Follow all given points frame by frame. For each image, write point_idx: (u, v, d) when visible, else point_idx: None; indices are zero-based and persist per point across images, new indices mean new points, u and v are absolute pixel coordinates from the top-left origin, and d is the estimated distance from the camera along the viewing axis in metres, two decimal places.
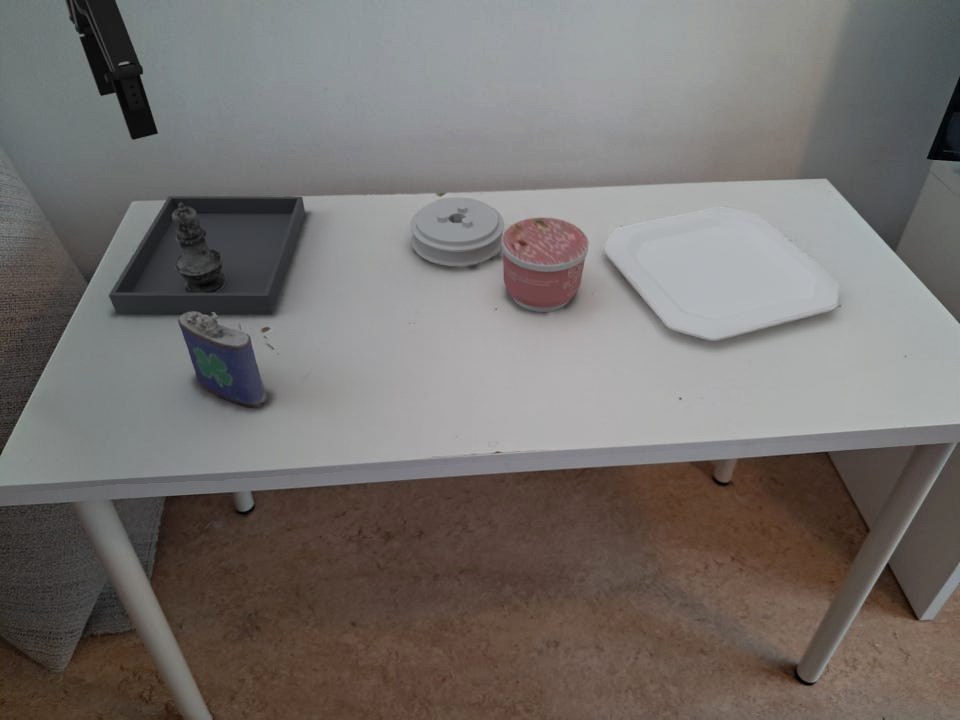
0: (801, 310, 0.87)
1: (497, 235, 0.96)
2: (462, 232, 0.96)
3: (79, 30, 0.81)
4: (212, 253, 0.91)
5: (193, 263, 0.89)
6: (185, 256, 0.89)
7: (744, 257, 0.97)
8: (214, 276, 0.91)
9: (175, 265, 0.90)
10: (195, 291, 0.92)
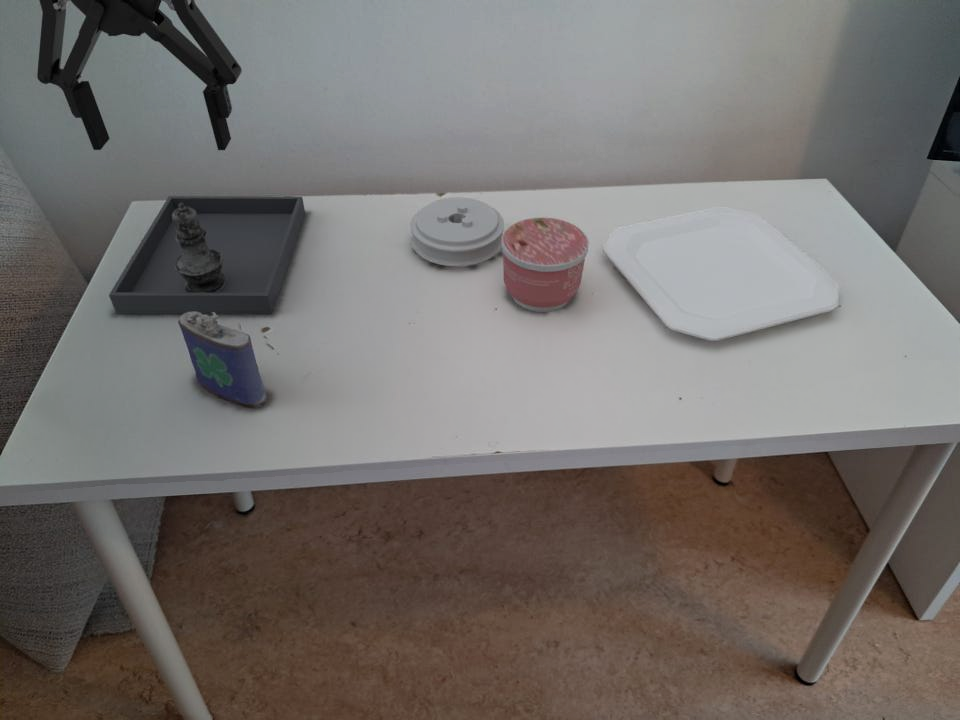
0: (801, 310, 0.87)
1: (497, 235, 0.96)
2: (462, 232, 0.96)
3: (71, 83, 0.75)
4: (212, 253, 0.91)
5: (193, 263, 0.89)
6: (185, 256, 0.89)
7: (744, 257, 0.97)
8: (214, 276, 0.91)
9: (175, 265, 0.90)
10: (195, 291, 0.92)
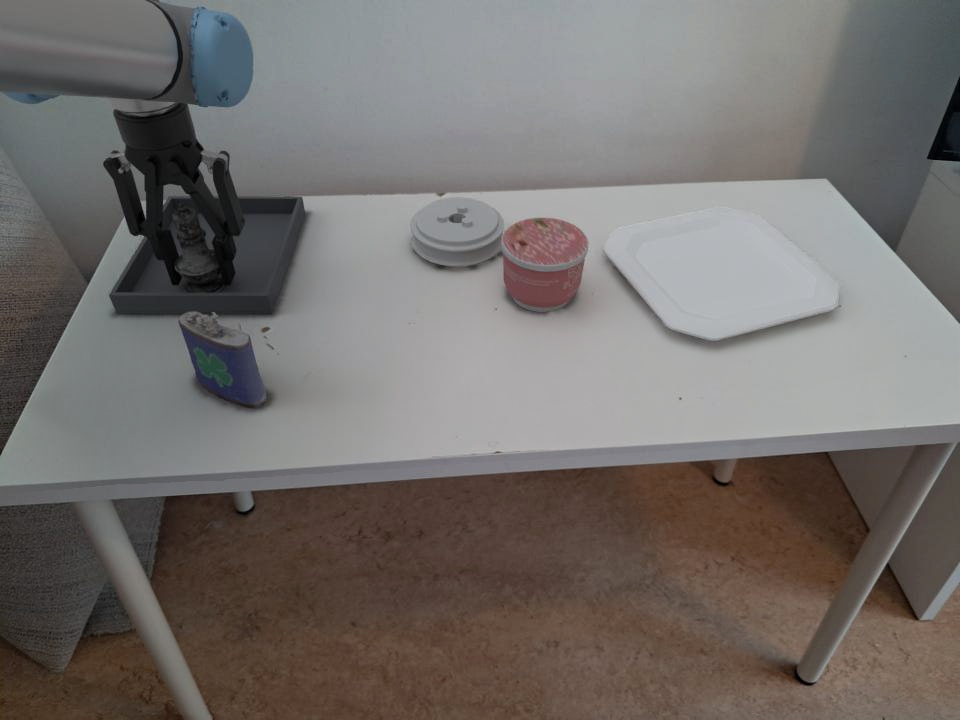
0: (801, 310, 0.87)
1: (497, 235, 0.96)
2: (462, 232, 0.96)
3: (156, 233, 0.87)
4: (212, 253, 0.91)
5: (193, 263, 0.89)
6: (185, 256, 0.89)
7: (744, 257, 0.97)
8: (214, 276, 0.91)
9: (175, 265, 0.90)
10: (195, 291, 0.92)
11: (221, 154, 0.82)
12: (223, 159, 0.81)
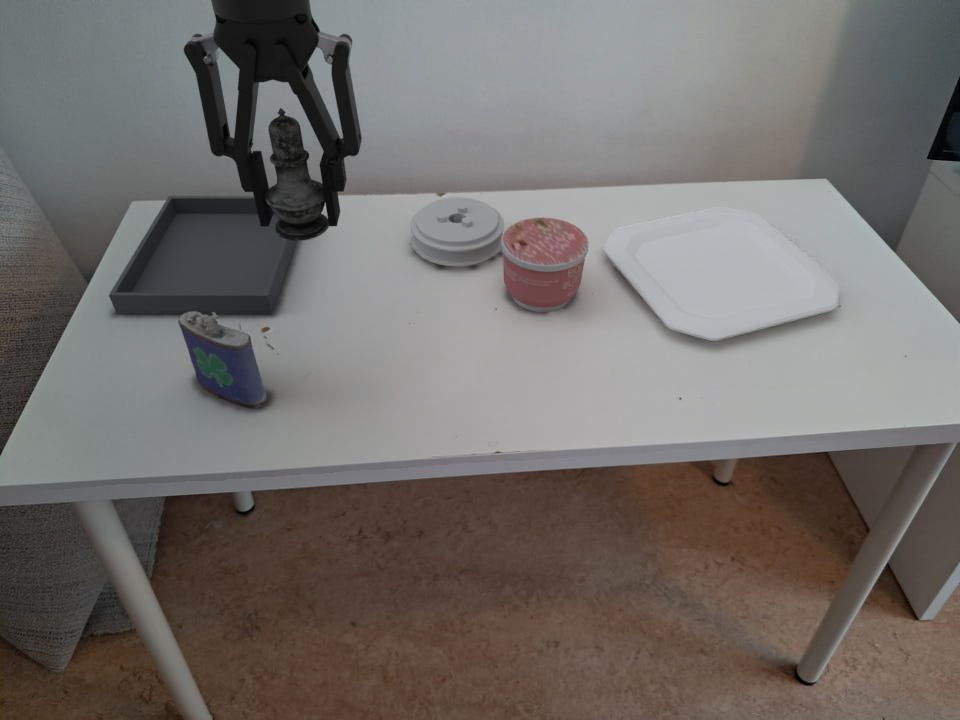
0: (801, 310, 0.87)
1: (497, 235, 0.96)
2: (462, 232, 0.96)
3: (246, 153, 0.65)
4: (314, 183, 0.70)
5: (292, 194, 0.68)
6: (281, 185, 0.68)
7: (744, 257, 0.97)
8: (317, 213, 0.70)
9: (267, 198, 0.69)
10: (291, 233, 0.70)
11: (343, 37, 0.60)
12: (347, 44, 0.60)
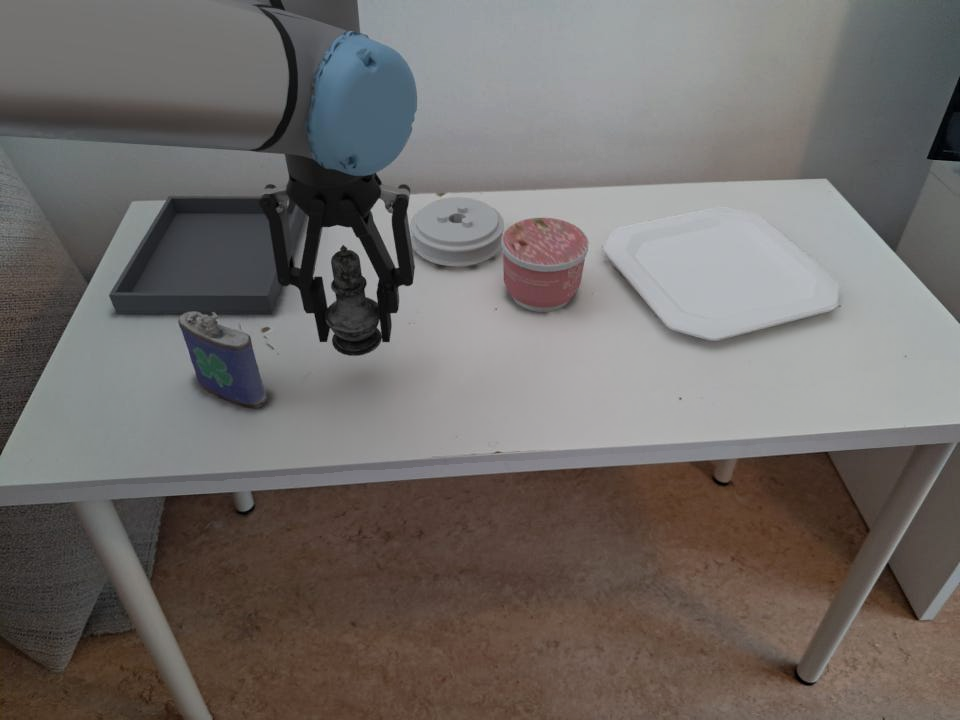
0: (801, 310, 0.87)
1: (497, 235, 0.96)
2: (462, 232, 0.96)
3: (310, 283, 0.72)
4: (369, 304, 0.76)
5: (350, 317, 0.74)
6: (341, 309, 0.74)
7: (744, 257, 0.97)
8: (372, 331, 0.76)
9: (326, 319, 0.75)
10: (348, 349, 0.76)
11: (403, 189, 0.66)
12: (407, 196, 0.66)
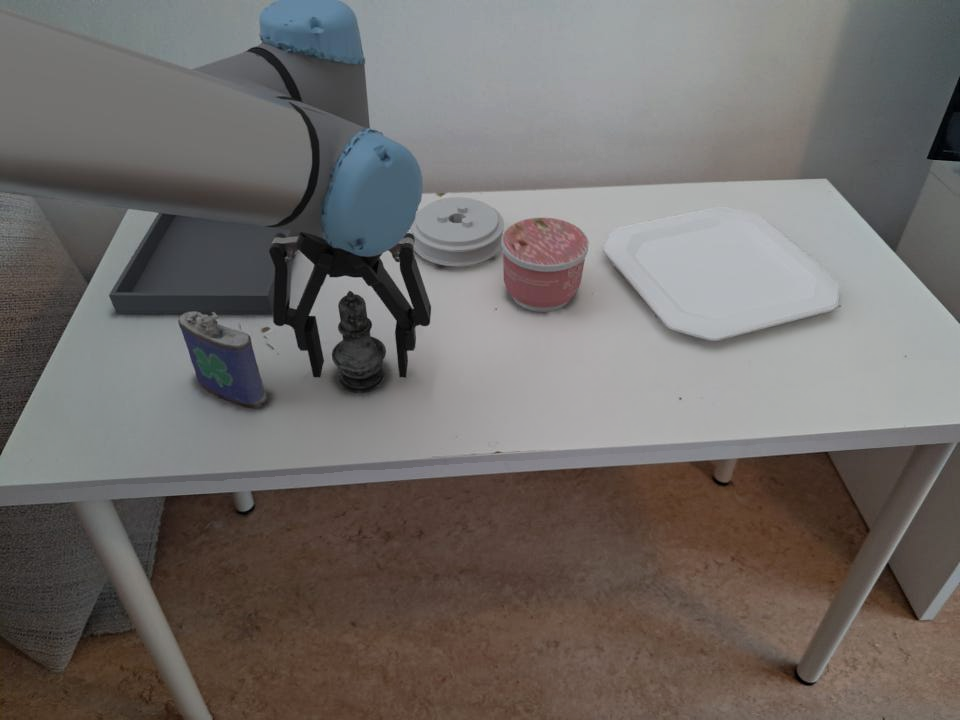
0: (801, 310, 0.87)
1: (497, 235, 0.96)
2: (462, 232, 0.96)
3: (304, 324, 0.75)
4: (374, 343, 0.79)
5: (356, 357, 0.78)
6: (347, 349, 0.77)
7: (744, 257, 0.97)
8: (377, 370, 0.79)
9: (333, 358, 0.79)
10: (353, 386, 0.80)
11: (407, 238, 0.70)
12: (411, 244, 0.69)
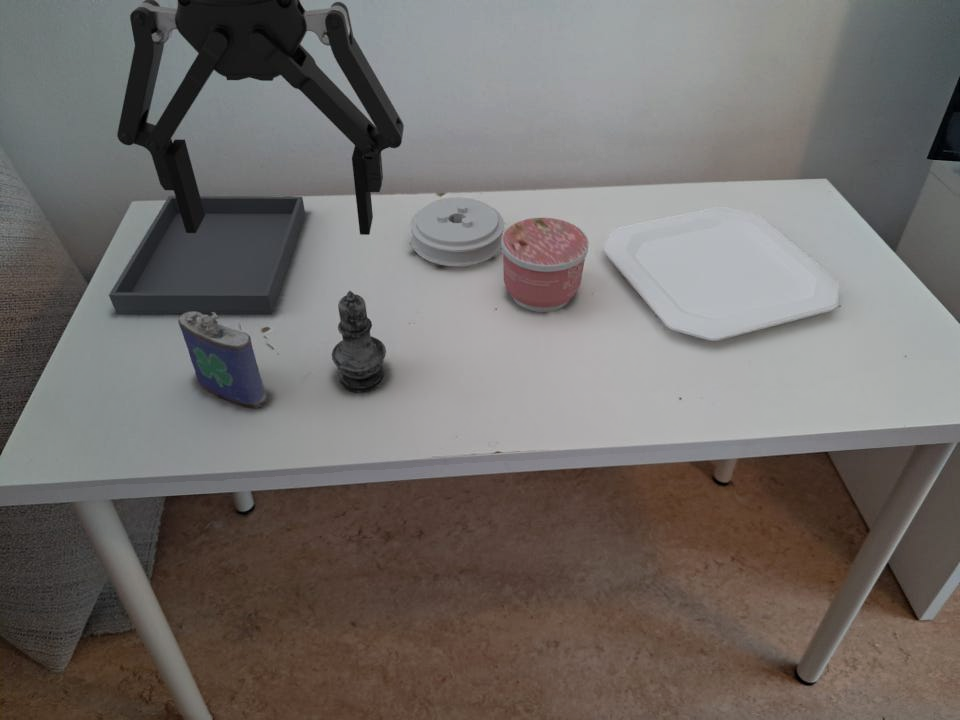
0: (801, 310, 0.87)
1: (497, 235, 0.96)
2: (462, 232, 0.96)
3: (165, 145, 0.53)
4: (374, 343, 0.79)
5: (356, 357, 0.78)
6: (347, 349, 0.77)
7: (744, 257, 0.97)
8: (377, 369, 0.79)
9: (333, 358, 0.79)
10: (353, 386, 0.80)
11: (333, 6, 0.48)
12: (339, 11, 0.47)
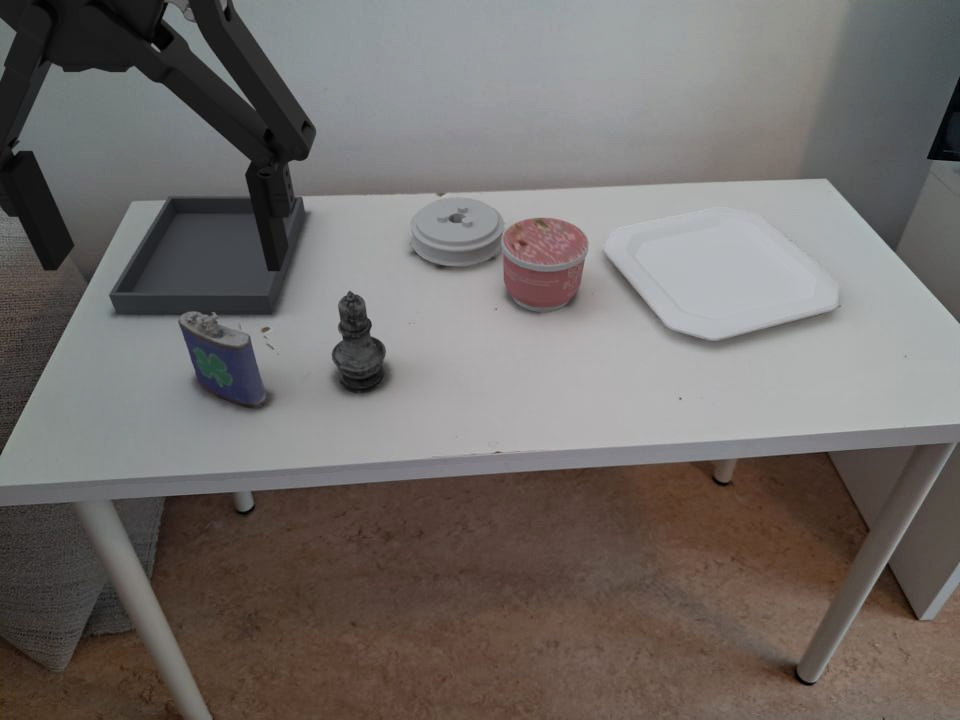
0: (801, 310, 0.87)
1: (497, 235, 0.96)
2: (462, 232, 0.96)
3: None
4: (374, 343, 0.79)
5: (356, 357, 0.78)
6: (347, 349, 0.77)
7: (744, 257, 0.97)
8: (377, 370, 0.79)
9: (333, 358, 0.79)
10: (353, 386, 0.80)
11: None
12: None
